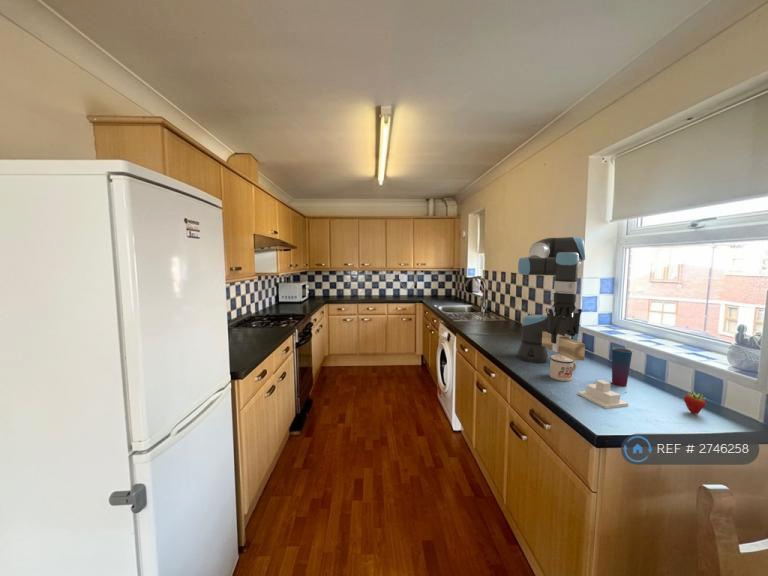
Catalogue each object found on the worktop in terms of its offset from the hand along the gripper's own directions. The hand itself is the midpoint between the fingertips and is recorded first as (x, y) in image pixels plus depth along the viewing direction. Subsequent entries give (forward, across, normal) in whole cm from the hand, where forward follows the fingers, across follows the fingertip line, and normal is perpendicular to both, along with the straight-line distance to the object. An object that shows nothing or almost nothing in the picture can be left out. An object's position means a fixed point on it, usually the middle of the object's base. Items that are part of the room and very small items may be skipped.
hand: (561, 351), depth 122 cm
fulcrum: (+17, +12, -7) cm, 22 cm away
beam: (0, 0, 0) cm, 0 cm away
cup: (+17, +31, +7) cm, 36 cm away
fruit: (+17, +36, -19) cm, 44 cm away
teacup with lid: (+17, +12, +15) cm, 25 cm away
